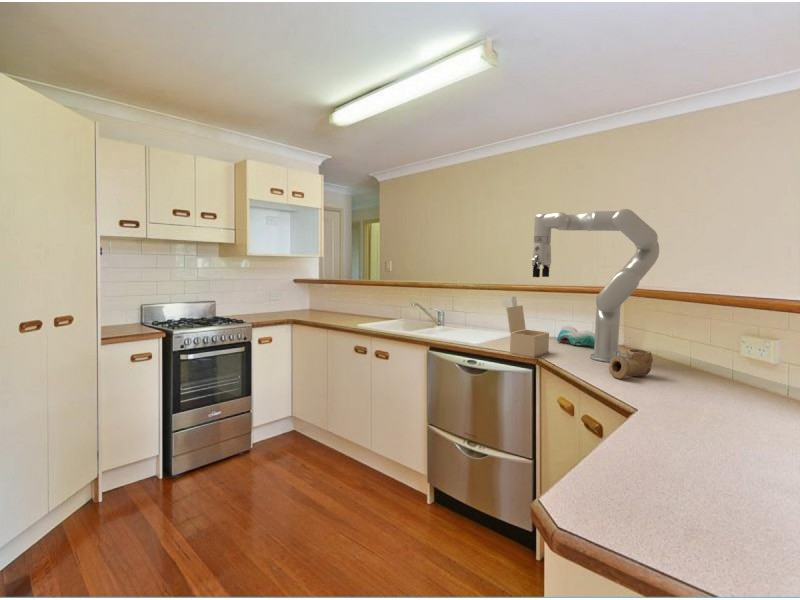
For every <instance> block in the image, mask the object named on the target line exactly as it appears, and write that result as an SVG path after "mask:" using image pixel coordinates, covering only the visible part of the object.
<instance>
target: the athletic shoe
mask: <svg viewBox="0 0 800 600" xmlns="http://www.w3.org/2000/svg"><path fill="white" fill-rule="evenodd" d="M556 341H557V342H559V343H566V344H570V345H572V346H583V347H590V348H594V344H595V332H594V333H593V332H592V331H590V330H582V331H578V330H577V329H576V328H575V327H572V326H571V325H570V326H569V325H564V326H561V328H560V332H559V333H558V335H557V337H556Z"/></svg>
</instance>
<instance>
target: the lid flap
mask: <svg viewBox="0 0 800 600" xmlns="http://www.w3.org/2000/svg"><path fill="white" fill-rule="evenodd" d="M517 300H518V299H517V296H511V297H504V298H501V301H502V307H503V308H506V315H507V322H508V330H509V333H510V334H511V333H513V332H518V331H522V330H527V329H526V321H525V313H524V308H523V305H522V304H521V305H518V302H517Z"/></svg>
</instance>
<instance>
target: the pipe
mask: <svg viewBox="0 0 800 600" xmlns="http://www.w3.org/2000/svg"><path fill="white" fill-rule="evenodd" d="M626 354H627V359H625V358H623V357H621V356H614V357H613V358H612V359H611V361H610V362H609V365H608V371H609V373H610V375H611V376H612V377H614V378H615V379H620V380H621V379H623V378H626V377H631V376H633V377H639V378H640V377H644V376H646V375H648V374H649V373H650V372H651V369H652V364H653V361H654V358H653V356H652V352H651V351H647V350H645V349H637V348H628V349H626Z"/></svg>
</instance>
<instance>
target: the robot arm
mask: <svg viewBox="0 0 800 600" xmlns="http://www.w3.org/2000/svg"><path fill="white" fill-rule="evenodd" d="M552 229H556V230H558V231H586V232H587V231H589V232H591V231H593V232H594V231H595V232H596V231H597V232H598V231H600V232H601V231H603V232H604V231H607V232H608V231H609V232H610V231H611V232H613V231H614V232H615V231H616V232H622V234H623V235H624V236H626V238H627V239H629V240H630V241H631V242H632V243H633V244H634V246H635V248H636V250H635V251H636V252H635V253H634V255H633V256H632V257H631V258H630V259H629V261H628V262H627V263H626V264H625V265H624V266H623V267H622V269H621V270H619V271H617V272H616V274H615V275H614V276H613V277H612V278H611V280H610V281H609V282H608V283H607V284H606V285H605V286H604V287H603V288H602V290H600V292H599V293H598V294H597V296H596V298H595V305H596V309H595V310H596V312H595V328H594V334H595V344H594V347H593V353H592V354H590V356H589V358H590V359H591V360H593V361H599V362H605V363H610V361H611V359H612V358H613V357H614V356H621V357H623V358H625V359H627V353H624V352H623V353H622V352H621V350H620V349H619V337H620V324H621V323H620V320H621V306H622V304H623V303H625V301H627V299H628V298H630V296H631V295H632V294H633V293H634V291H636V290H637V288H638V287H639V285H640V281H641V280H643V278H644V277H645V275H647V273H648V272H649V271H650V270H651V268H653V266H654V265H655V264H656V262H657V260H658V258H659V255H660V244H659V241H658V237H659V235H658V233H657V231H655V229H653V227H652V226H650V225H649V224H647V223H646V222H645V221H644V220H643V219H642V218H641V217H640V216H639V215H637V213H636V212H634V211H633V210H631V209H628V208H623V209H620V210H595V211H590V212H586V213H581V214H580V213H579V214H567V213H565V212H562V211H558V212H554V213H553V212H551V213H537V214H536V215H535V216H534V229H533V245H534V246H533V254H532V255H533V256H532V259H531V264H532V277H533V278H540V276H541V277H543V278H545V277H546V278H549V277H550V269H551V264H552V246H551V245H552V242H551V240H552ZM541 265H542V267H543V268H542V271H541Z"/></svg>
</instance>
